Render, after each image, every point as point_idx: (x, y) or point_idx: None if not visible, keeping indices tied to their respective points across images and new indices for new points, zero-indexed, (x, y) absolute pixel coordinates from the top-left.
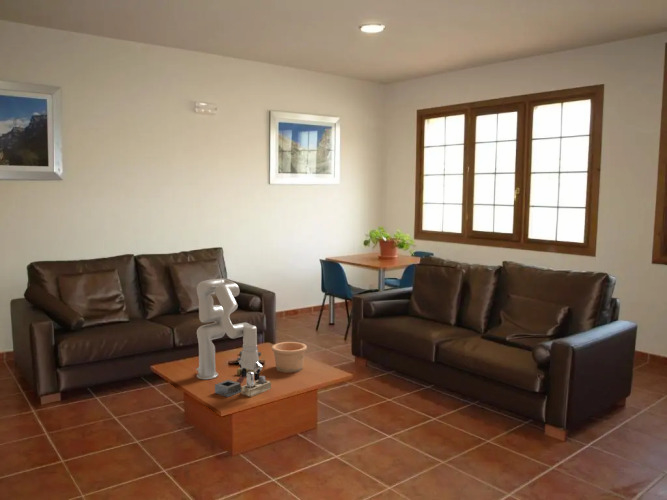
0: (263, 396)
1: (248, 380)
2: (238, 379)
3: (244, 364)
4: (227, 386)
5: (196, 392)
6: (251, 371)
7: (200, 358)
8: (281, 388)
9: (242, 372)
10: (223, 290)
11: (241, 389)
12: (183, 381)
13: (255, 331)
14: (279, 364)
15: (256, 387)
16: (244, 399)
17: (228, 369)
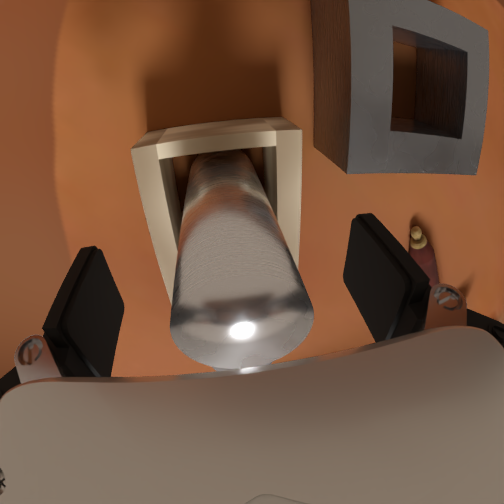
0: (95, 210)
1: (211, 206)
2: (434, 265)
3: (405, 470)
4: (392, 22)
5: (500, 13)
6: (267, 361)
7: None
8: (155, 349)
9: (392, 258)
10: None
11: (284, 124)
12: None
13: None
14: None
15: (154, 228)
16: (145, 53)
17: (493, 304)
